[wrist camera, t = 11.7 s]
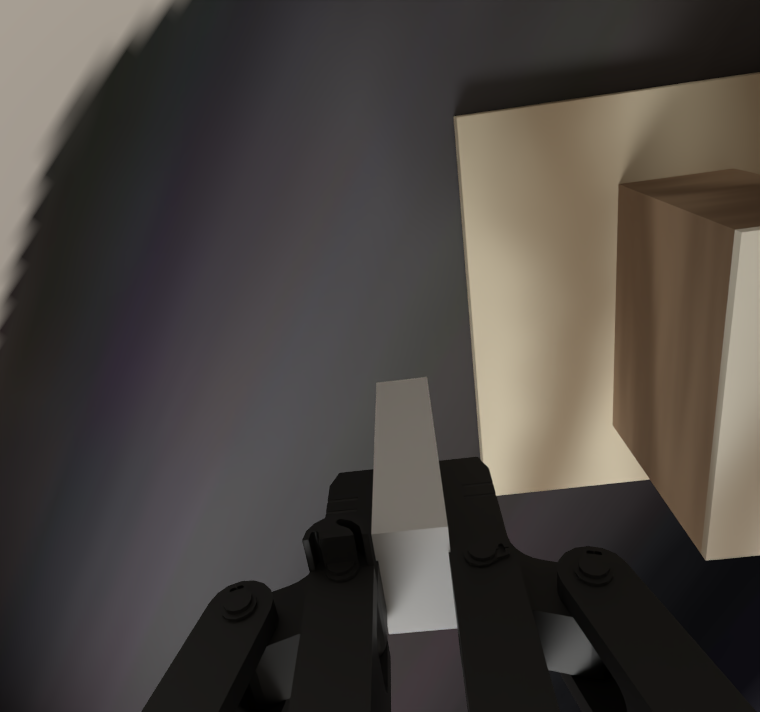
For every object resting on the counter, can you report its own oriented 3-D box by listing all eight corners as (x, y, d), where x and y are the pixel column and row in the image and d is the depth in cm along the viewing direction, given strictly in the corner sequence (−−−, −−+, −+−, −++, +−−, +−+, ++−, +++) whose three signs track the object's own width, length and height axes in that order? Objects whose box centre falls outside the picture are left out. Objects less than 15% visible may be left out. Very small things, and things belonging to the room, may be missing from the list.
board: (482, 483, 28) (485, 496, 27) (453, 116, 21) (456, 117, 20) (931, 434, 27) (951, 447, 26) (1043, 31, 20) (1075, 28, 19)
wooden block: (612, 425, 25) (705, 560, 18) (618, 184, 21) (741, 232, 14) (708, 414, 25) (843, 546, 18) (733, 168, 21) (919, 209, 14)
